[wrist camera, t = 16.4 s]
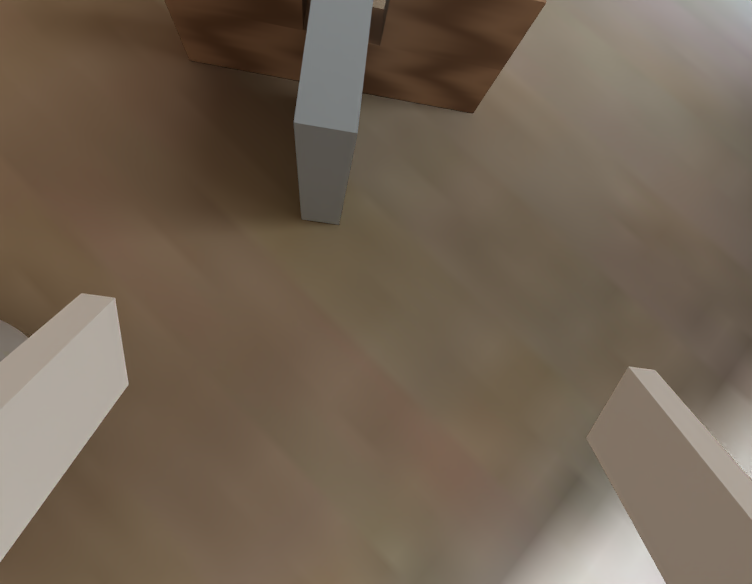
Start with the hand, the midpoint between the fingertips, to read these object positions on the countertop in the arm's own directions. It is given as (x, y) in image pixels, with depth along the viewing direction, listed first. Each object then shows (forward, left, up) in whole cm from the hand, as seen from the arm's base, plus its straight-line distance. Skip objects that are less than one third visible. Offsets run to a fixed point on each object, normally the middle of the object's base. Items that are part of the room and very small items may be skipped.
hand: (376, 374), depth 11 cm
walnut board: (+2, -20, -16) cm, 26 cm away
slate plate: (+2, -20, -16) cm, 26 cm away
